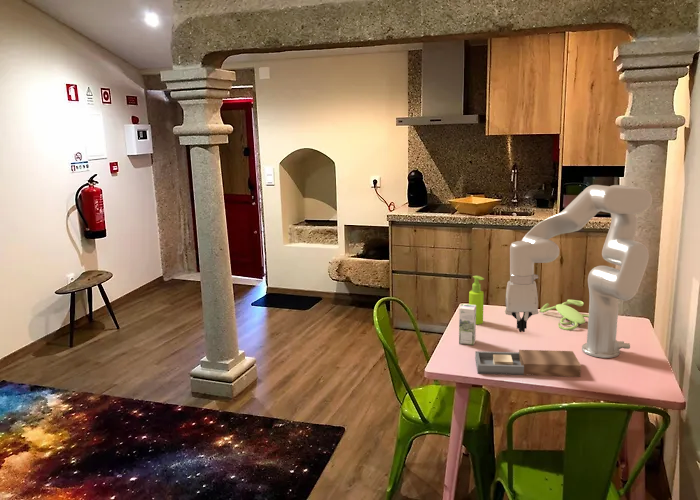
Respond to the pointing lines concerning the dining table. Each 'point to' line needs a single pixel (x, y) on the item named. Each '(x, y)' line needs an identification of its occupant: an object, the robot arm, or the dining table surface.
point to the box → (487, 366)
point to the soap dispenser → (477, 299)
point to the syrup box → (467, 324)
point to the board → (550, 363)
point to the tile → (502, 360)
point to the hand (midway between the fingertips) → (521, 330)
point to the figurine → (567, 313)
